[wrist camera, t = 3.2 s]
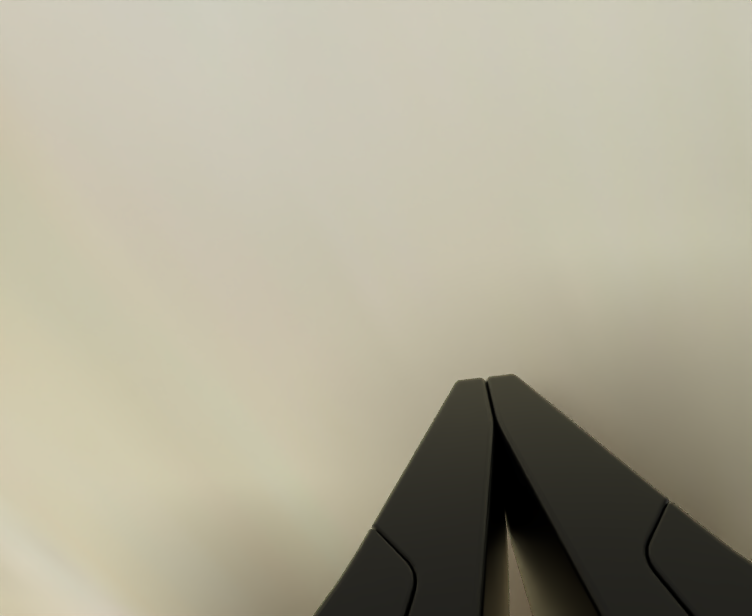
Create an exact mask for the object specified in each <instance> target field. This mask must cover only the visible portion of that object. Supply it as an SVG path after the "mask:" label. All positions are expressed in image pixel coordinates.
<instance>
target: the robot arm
mask: <svg viewBox="0 0 752 616" xmlns="http://www.w3.org/2000/svg"><path fill="white" fill-rule="evenodd" d="M505 517H506V520H505ZM506 522H507V528H508V532H509V536H510V540H511V544H512V547H513V551H514V554H515V557H516V561H517V564H518V567H519V571H520V574H521V578H522V581H523V584H524V588H525V591H526V594H527V598H528V601H529V604H530V608H531V611H532V614H533V616H752V562H750V561H749V560H747V559H746V558H744V557H743V556H741V555H740V554H739V553H737V552H736V551H734V550H733V549H732V548H730V547H729V546H728V545H726V544H725V543H724V542H722V541H721V540H720V539H719V538H717V537H716V536H715V535H713V534H712V533H711V532H709V531H708V530H707V529H706V528H704V527H703V526H702V525H700V524H699V523H698V522H696V521H695V520H694V519H693V518H691V517H690V516H689V515H688V514H687V513H685V512H684V511H683V510H682V509H680V508H679V507H678V506H677V505H675V504H674V503H672V502H670V503H669V500H668V498H666V497H665V496H664V495H663V494H662V493H660V492H659V491H658V490H657V489H655V488H654V487H653V486H652V485H650V484H649V483H648V482H647V481H646V480H644V479H643V478H642V477H641V476H639V475H638V474H637V473H636V472H634V471H633V470H632V469H631V468H630V467H628V466H627V465H626V464H625V463H623V462H622V461H621V460H620V459H618V458H617V457H616V456H615V455H614V454H612V453H611V452H610V451H609V450H607V449H606V448H605V447H604V446H602V445H601V444H600V443H599V442H598V441H596V440H595V439H594V438H593V437H591V436H590V435H589V434H588V433H586V432H585V431H584V430H583V429H582V428H580V427H579V426H578V425H577V424H575V423H574V422H573V421H572V420H570V419H569V418H568V417H567V416H566V415H564V414H563V413H562V412H561V411H559V410H558V409H557V408H556V407H554V406H553V405H552V404H551V403H550V402H548V401H547V400H546V399H545V398H543V397H542V396H541V395H540V394H538V393H537V392H536V391H535V390H534V389H532V388H531V387H530V386H529V385H527V384H526V383H525V382H524V381H522V380H521V379H520V378H519V377H518V376H516V375H514V374H509V375H500V376H492V377H489V378H488V379H487V380H486V381H485V380H484V379H482V378H475V379H466V380H459V381H457V382H456V383H455V384H454V386H453V388H452V390H451V391H450V393H449V395H448V396H447V398H446V400H445V402H444V403H443V405H442V407H441V409H440V410H439V412H438V414H437V415H436V417H435V419H434V421H433V422H432V424H431V426H430V427H429V429H428V431H427V433H426V434H425V436H424V438H423V439H422V441H421V443H420V445H419V446H418V448H417V450H416V451H415V453H414V455H413V457H412V458H411V460H410V462H409V463H408V465H407V467H406V469H405V470H404V472H403V474H402V475H401V477H400V479H399V481H398V482H397V484H396V486H395V488H394V489H393V491H392V493H391V494H390V496H389V498H388V500H387V501H386V503H385V505H384V506H383V508H382V510H381V512H380V513H379V515H378V517H377V518H376V520H375V522H374V524H373V525H372V529H370V530H369V532H368V533H367V535H366V537H365V538H364V540H363V542H362V544H361V545H360V547H359V549H358V551H357V552H356V554H355V555H354V557H353V559H352V560H351V562H350V563H349V565H348V567H347V568H346V570H345V571H344V573H343V574H342V576H341V578H340V579H339V581H338V582H337V584H336V585H335V586H334V588H333V589H332V590H331V592H330V593H329V595H328V596H327V597H326V599H325V600H324V601H323V603H322V604H321V606H320V607H319V608H318V610H317V611H316V613H315V614H314V615H313V616H510V608H509V572H508V543H507V529H506Z"/></svg>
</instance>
